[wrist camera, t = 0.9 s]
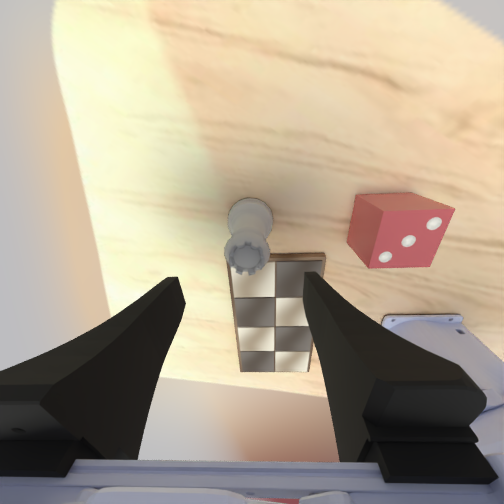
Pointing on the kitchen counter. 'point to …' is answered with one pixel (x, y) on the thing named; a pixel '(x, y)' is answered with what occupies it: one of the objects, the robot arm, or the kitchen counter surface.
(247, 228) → the rook chess piece
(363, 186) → the kitchen counter surface
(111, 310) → the kitchen counter surface
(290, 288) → the game board
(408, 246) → the die
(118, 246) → the kitchen counter surface
